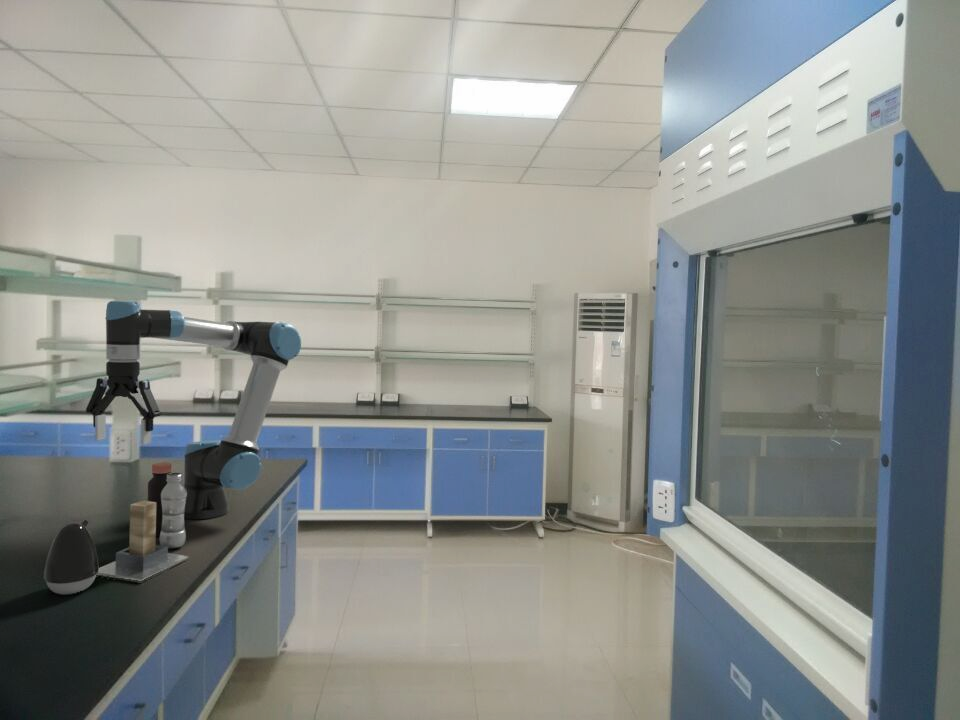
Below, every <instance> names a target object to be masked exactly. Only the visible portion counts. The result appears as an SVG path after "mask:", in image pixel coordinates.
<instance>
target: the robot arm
mask: <svg viewBox="0 0 960 720" xmlns="http://www.w3.org/2000/svg"><path fill="white" fill-rule="evenodd" d="M105 328H106V329H105V333H106V334H105V336H106V338H105V339H106V340H105V341H106V343H105V345H106V346H105V347H106V350H105V351H106V352H105V353H106V355H105V356H106V359H107V360H108V361H107V362H106V363H105V364H106V366H105V371H106V373H105V374H106V376H107V377H108V378H107V377H99V378H96V385H95V389H94V391H93V392H92V394H91V397H90V399H89V402H88V404H87V406H86V408H85V412H86V413H88V414H89V413H90V414H91V415H92V421H93V428H94V431H95V432H94V435H95V436H94V437H95V438H94V439H95V440H94V441H97V442H99V441H102V440H106V439H107V433H106V432H107V426H106V425H107V421H106V420H107V416H106V414H105V411H106V410H107V408H108V407H109V406H110V405H111V403H112V402H113V401H114V400H115V398H116V397H123V398H128V399H129V400H131V401H132V403H133V404H134V407H136V409H137V410H138V411H139V413H140V414H141V416H142V417H143V418H141V419H140V444H141V445H142V446H143V445H147V444H151V443H152V431H154V418H157V417H160V416H161V414H162V413H161V411H160V408H159V406H158V404H157V401H156V399H155V396H154V395H153V391H152V390H151V384H150V380H149V379H146V380H139V375H140V371H141V369H140V367H141V366H140V365H141V364H140V362H139V361H138V360H140V359H141V358H140V357H141V355H140V354H141V353H140V352H141V350H140V349H141V347H140V346H141V345H140V344H141V343H140V341H141V339H144V338H147V339H148V338H150V339H151V338H153V339H160V340H161V339H162V340H169V341H177V342H183V343H185V342H186V343H192V344H200V345H207V346H216V347H217V346H218V347H222V348H223V349H224V350H226V351H231V352H232V351H233V352H237V353H242V354H246V355H249V356H250V359H251V361H252V367H251V370H250V373H249V375H248V378H247V381H246V384H245V386H244V389H243V393H242V395H241V398H240V400H239V401H240V402H239V404H238V406H237V410H236V413H235V414H234V415H235V416H234V418H233V421H232V424H231V427H230V431H229V433H228V435H227V436H226V437H224V438H222V439H208V440H200V441H193V442H189V443H188V444H186V445H185V449H184V454H183V455H184V472H183V473H184V475H183V477H184V480H183V481H184V483H183V486H184V487H185V489H186V491H187V497H186V503H185V511H184V519H189V520H205V519H212V518H218V517H221V516H222V517H223V516H225V515H226V514H228V513H229V511H230V503H229V501H228V498H227V493H226V490H225V488H226V489H229V490H236V491H237V490H244V489H247V488H248V487H250V486H252V485H253V484H254V483H255V482H256V481H257V480H258V478H259V476H260V474H261V471H262V463H261V458H260V457H259V452H260V448H259V446H258V443H257V442H258V439H259V436H260V433H261V430H262V428H263V424H264V422H265V418H266V415H267V412H268V409H269V406H270V403H271V400H272V396H273V394H274V391H275V387H276V385H277V381H278V379H279V376H280V374H281V373H280V372H281V371H283V370H285V369H287V368H288V365H289V361H291V360H293V359H295V358H296V357H297V356H298V355H299V353H300V351H301V348H302V339H301V336H300V334H299V331H298V330H297V328H295V326H293V325H292V324H290V323H286V322H285V323H284V322H281V321H276V322H275V321H273V322H272V321H269V322H268V321H235V320H234V321H233V320H229V321H226V322H220V321H212V320H206V319H200V318H194V317H187V316H184V315H183V314H182V312H180V311H178V310H170V309H166V310H165V309H162V310H161V309H142V308H141V306H140V303H139V302H137V301H127V300H126V301H124V300H123V301H119V300H111V301H109V302H108V303H107V304H106V310H105ZM107 387H108V388H107Z"/></svg>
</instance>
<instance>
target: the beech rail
mask: <svg viewBox="0 0 960 720" xmlns="http://www.w3.org/2000/svg"><path fill="white" fill-rule="evenodd" d="M128 543H129V544H128V545H129V546H128V548H129V553H132V554H138V555H145V554H147V553H149V552H152V551H154V550H155V544H156V502H150V501H148V500H140V501H138V502H134V503H130V506H129V541H128Z"/></svg>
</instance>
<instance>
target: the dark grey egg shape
mask: <svg viewBox="0 0 960 720" xmlns="http://www.w3.org/2000/svg"><path fill="white" fill-rule="evenodd" d="M88 524H89V520H87V519H84V520H83V521H82V522H81V523H79V522H69V523H67V524H64V525H63V526H62V527H61V528H60V529H59V530H58V532H57V533H56V535H55V537H54V539H53V540H52V542H51V545H50V549H49V551H48V553H47V557H46V561H45V566H44V573H43V580H44V581H45V582H46V585H47V586H48V587H47V588H48V589H49V590H51V592H53V593H55V594H59V595H64V596H65V595H72V594H73V595H74V594H78V593H80V591H81V592H82V591H85V590H86V589H89V587H90V586H91V585H92V584H93V583H94V581H95V579H96V577H97V576H96V574H97V573H98V570H99V568H100V567H99V558H98V554H97V550H96V549H97V548H96V545H95V542H94V540H93V537H92V535H91V533H90V531H89V530H88V528H87V526H88ZM77 592H78V593H77Z"/></svg>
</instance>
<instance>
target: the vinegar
mask: <svg viewBox="0 0 960 720" xmlns="http://www.w3.org/2000/svg"><path fill="white" fill-rule="evenodd" d="M151 473H152V477H151V479H150V480H149V481H148V482H147V501H150V502H156V536H159V537H160V533H161V528H162V519H163V517H162V515H163V514H162V502H161V492H162V490H163V489H164V487H165V486H166V485H167V483H168V482H167V481H166V479H167V474H169V473H172V463H171V462H155V463H153V464H151Z"/></svg>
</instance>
